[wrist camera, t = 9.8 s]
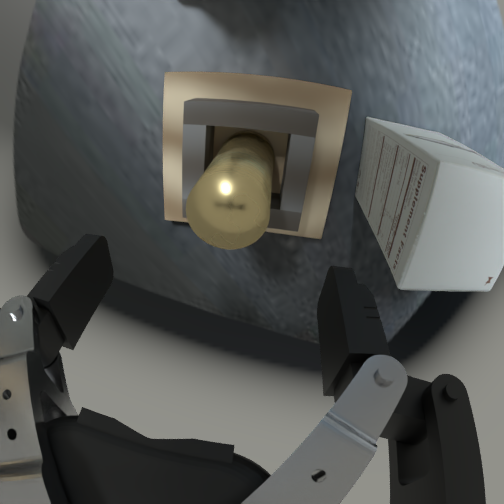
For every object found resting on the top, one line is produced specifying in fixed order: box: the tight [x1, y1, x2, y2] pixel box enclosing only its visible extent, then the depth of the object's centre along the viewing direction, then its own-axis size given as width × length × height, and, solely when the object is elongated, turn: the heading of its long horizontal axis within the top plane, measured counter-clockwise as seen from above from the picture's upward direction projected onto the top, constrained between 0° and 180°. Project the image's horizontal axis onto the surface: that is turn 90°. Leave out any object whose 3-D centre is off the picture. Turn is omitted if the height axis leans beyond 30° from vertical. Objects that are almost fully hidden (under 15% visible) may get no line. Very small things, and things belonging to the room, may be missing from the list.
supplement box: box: [355, 117, 504, 292], centre depth 17 cm, size 7×7×13 cm
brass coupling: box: [186, 130, 275, 249], centre depth 18 cm, size 4×4×10 cm
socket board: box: [163, 72, 352, 239], centre depth 21 cm, size 13×14×4 cm
